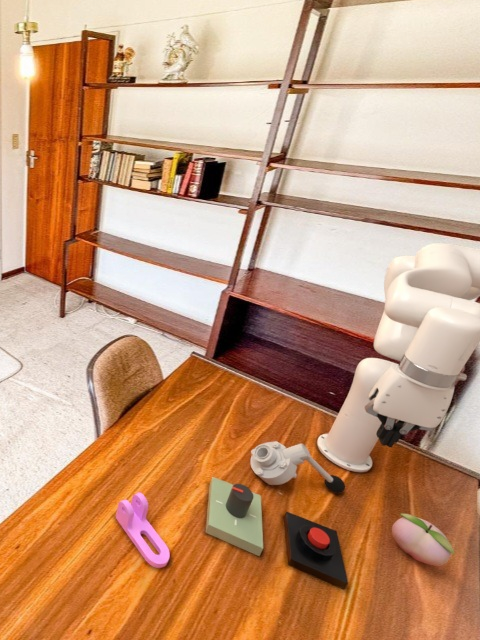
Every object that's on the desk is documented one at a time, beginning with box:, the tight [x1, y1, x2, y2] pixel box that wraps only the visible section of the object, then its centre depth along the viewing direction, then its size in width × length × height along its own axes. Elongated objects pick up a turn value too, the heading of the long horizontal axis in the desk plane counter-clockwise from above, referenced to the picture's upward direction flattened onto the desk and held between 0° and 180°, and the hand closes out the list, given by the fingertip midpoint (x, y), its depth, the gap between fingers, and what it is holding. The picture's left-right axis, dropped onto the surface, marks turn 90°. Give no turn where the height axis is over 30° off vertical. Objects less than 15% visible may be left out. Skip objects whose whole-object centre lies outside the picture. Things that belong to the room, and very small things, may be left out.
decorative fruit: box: [391, 512, 456, 567], centre depth 86 cm, size 9×8×10 cm
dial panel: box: [205, 476, 264, 557], centre depth 93 cm, size 14×11×3 cm
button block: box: [283, 511, 349, 590], centre depth 87 cm, size 12×10×4 cm
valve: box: [250, 440, 346, 494], centre depth 102 cm, size 10×20×15 cm
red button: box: [308, 528, 330, 549], centre depth 86 cm, size 4×4×2 cm
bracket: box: [115, 491, 171, 569], centre depth 87 cm, size 13×6×7 cm, turn 26°
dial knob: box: [226, 483, 254, 518], centre depth 91 cm, size 4×4×6 cm
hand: (384, 441), depth 82 cm, fingers closed
